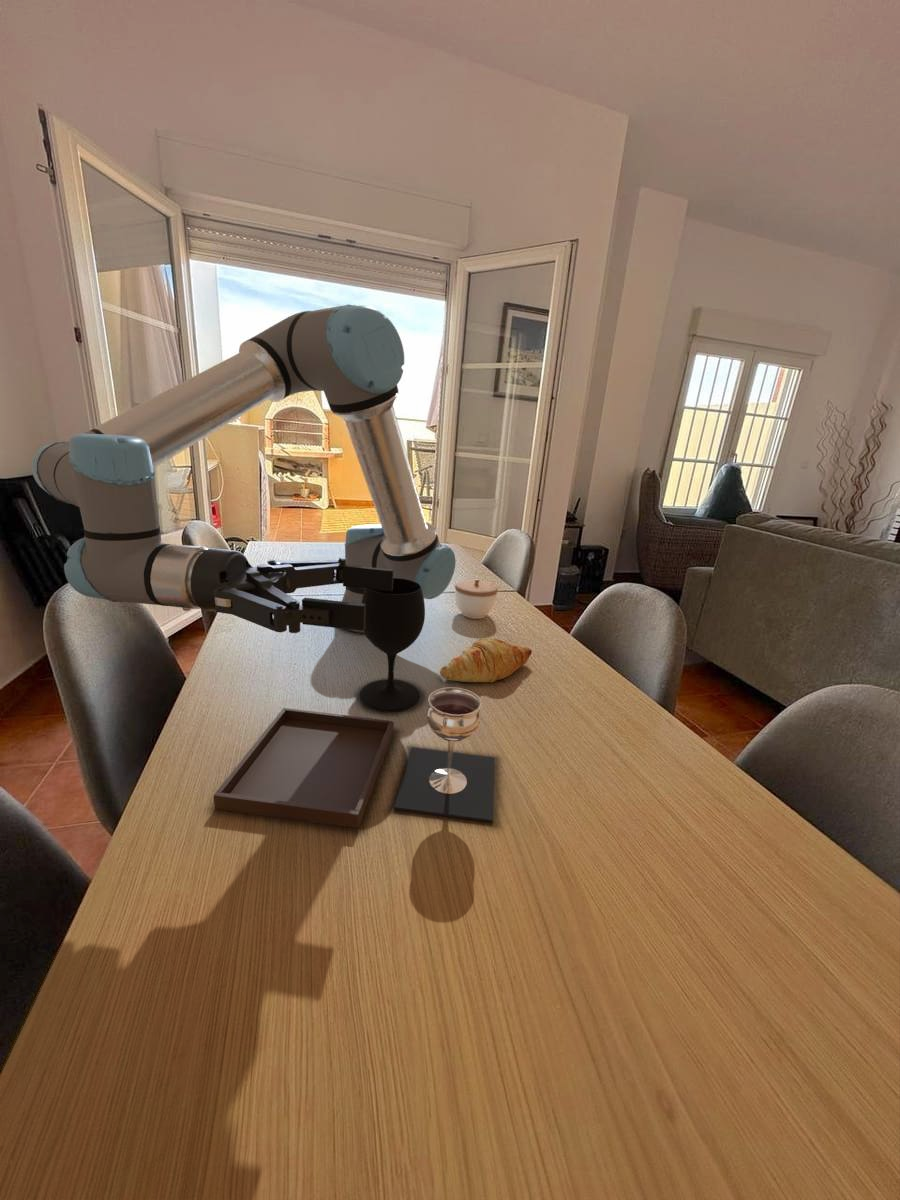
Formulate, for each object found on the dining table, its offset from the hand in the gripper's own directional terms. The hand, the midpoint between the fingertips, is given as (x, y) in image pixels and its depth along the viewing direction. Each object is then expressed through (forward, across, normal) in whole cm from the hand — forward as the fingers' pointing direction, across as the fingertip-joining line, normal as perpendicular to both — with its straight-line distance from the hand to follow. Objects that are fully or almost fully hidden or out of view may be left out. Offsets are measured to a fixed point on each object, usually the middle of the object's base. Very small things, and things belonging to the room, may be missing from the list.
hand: (380, 596), depth 56 cm
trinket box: (+10, -64, -25) cm, 69 cm away
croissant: (+14, -33, -25) cm, 44 cm away
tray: (-8, 0, -25) cm, 26 cm away
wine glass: (-2, -20, -25) cm, 32 cm away
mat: (+10, 0, -25) cm, 27 cm away
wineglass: (+10, 0, -25) cm, 27 cm away
